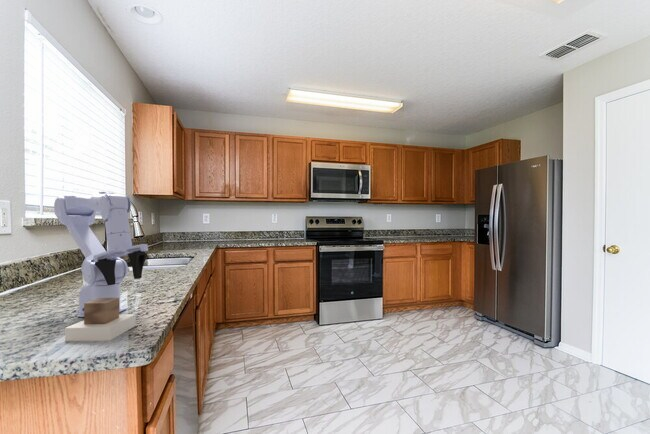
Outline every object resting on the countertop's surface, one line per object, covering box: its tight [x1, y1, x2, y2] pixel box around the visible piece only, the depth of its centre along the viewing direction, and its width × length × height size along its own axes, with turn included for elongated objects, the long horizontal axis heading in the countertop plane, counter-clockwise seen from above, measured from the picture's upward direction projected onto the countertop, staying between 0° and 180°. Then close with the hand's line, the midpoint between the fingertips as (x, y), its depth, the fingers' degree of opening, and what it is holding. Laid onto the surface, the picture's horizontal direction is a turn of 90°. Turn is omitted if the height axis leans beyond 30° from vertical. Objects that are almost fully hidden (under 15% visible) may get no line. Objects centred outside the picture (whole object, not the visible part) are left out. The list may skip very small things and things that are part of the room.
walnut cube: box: [83, 298, 120, 324], centre depth 74 cm, size 5×5×5 cm
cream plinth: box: [64, 313, 137, 342], centre depth 74 cm, size 10×10×4 cm
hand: (124, 281), depth 85 cm, fingers open, 7 cm apart
